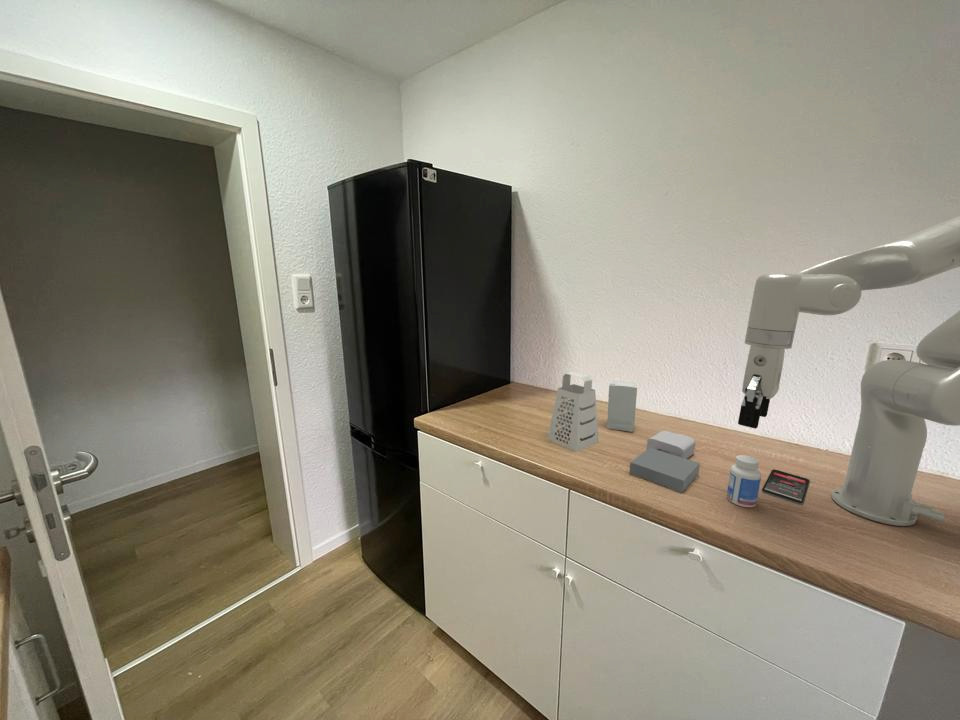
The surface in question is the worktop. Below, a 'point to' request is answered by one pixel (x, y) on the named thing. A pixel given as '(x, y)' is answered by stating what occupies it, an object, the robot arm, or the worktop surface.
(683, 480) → the grey pad
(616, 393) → the skincare box
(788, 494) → the smartphone
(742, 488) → the pill bottle
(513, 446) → the worktop surface
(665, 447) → the charger
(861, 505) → the robot arm
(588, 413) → the grater
